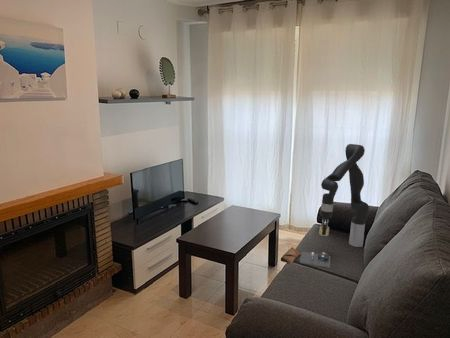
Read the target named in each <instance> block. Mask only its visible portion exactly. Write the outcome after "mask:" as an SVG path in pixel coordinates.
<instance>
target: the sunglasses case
mask: <svg viewBox="0 0 450 338" xmlns="http://www.w3.org/2000/svg"><path fill="white" fill-rule="evenodd" d="M300 257H301V252H299V250H297V249H296V248H294V247H293V246H292V247H291V248H289V249H288V250H287V251H286V252H285V253H284V254H283V255H282V257H280V261H281V262H283V263H286V264H290V265H293V264H294V262H295V261H296V260H297V259H298V258H300Z"/></svg>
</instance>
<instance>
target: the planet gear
mask: <svg viewBox="0 0 450 338" xmlns="http://www.w3.org/2000/svg"><path fill="white" fill-rule="evenodd" d="M322 228H326V227H323V226H322V224H321V225H319V232H318V235H320V236H322V237H328V236H329V232H330V226H327V230H326V235H322Z"/></svg>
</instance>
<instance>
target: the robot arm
mask: <svg viewBox="0 0 450 338" xmlns="http://www.w3.org/2000/svg"><path fill="white" fill-rule="evenodd" d="M365 151H366V150H365V147H364V146H363V145H361V144H357V143H356V144H355V143H349V144H347V145H346V147H345V157H346V159H345V161H343V162H341V163H340V164H339V165H337V166H336V167H335V169H333V170H332V172H331V173H330V174H329V175H328V176H326V177H325V178H324V179H323V180H322V182H321V184H320V185H321V189H323V190H325V191H327V192H328V193H323V194H322V199H321V205H320V213H319V215H320V217H322V218H321V222H322V223H321V225H322V226H323V227H326V228H322V235H326V230H327V226H328V224H329V219H330V218H331V219H332V217H333V210H334V202H335V201H334V199H335V196H336V194H337V191H338V189H339V184H338V182H341V180H342V178H344V176H345V175H346V174H347V173H348V177H349V178H348V179H349V185H350V186H349V187H350V208H351V210H352V211H353V212H355V213H356V215H355V216H353V217H351V223H350V232H349V240H348V244H349V245H350V247H351V246H352V247H356V248H363V245H364V238H365V229H366V228H365V227H366V222H367V219H368V216H369V211H370V206H369V204H368V203H367V202H365V201H364V200H362V198H361V197H362V196H361V192H362V190H363V188H364V186H365V179H364V177H365V176H364V174H363V172H362V170H361V168H360V167H359V165H358V164H357V162H359V161H360V160H361V159H362V158H363V156H364V155H365ZM328 227H329V226H328ZM322 235H321V236H322Z"/></svg>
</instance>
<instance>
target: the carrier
mask: <svg viewBox="0 0 450 338" xmlns="http://www.w3.org/2000/svg"><path fill="white" fill-rule="evenodd" d="M300 253H301V255H300V257H299V264H302V265H303V264H304V265H309V266H310V265H311V266H316V267H322V268H327V269H331V255H330V254H329V253H327V252H325V251H320V252H318V253H315V252H314V251H311V252H308V251H301V252H300Z"/></svg>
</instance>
